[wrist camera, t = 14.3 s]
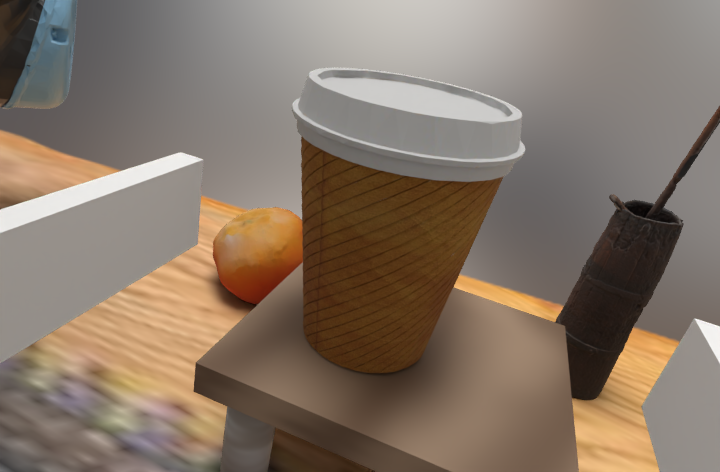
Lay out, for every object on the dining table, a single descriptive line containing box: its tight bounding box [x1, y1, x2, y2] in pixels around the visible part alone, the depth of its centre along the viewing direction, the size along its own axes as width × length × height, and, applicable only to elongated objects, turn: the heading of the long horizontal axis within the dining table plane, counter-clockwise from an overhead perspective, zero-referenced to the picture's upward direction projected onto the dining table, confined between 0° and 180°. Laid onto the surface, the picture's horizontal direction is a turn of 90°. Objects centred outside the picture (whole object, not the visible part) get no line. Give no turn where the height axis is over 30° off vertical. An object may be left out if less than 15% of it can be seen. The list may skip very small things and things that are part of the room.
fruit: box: [213, 207, 303, 304], centre depth 40 cm, size 8×8×8 cm
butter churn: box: [555, 106, 720, 400], centre depth 33 cm, size 9×10×28 cm
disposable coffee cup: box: [292, 68, 525, 373], centre depth 22 cm, size 10×10×12 cm
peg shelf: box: [194, 262, 579, 472], centre depth 27 cm, size 16×14×8 cm
